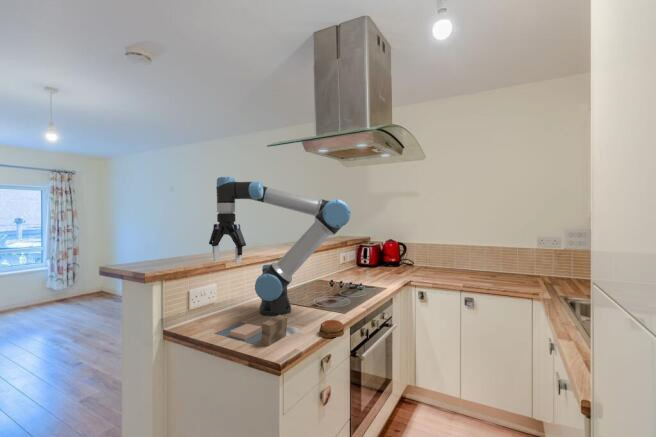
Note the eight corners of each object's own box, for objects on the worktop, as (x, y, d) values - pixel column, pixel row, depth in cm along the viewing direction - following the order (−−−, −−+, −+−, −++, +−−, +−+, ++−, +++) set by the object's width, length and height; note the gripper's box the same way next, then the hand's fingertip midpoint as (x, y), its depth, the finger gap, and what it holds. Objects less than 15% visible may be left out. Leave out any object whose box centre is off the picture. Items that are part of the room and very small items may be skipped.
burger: (348, 335, 120) (348, 323, 120) (328, 341, 115) (328, 328, 115) (334, 327, 128) (334, 316, 128) (315, 332, 123) (315, 321, 123)
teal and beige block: (247, 323, 126) (229, 331, 118) (261, 326, 122) (245, 334, 114) (247, 328, 126) (230, 336, 118) (261, 332, 122) (245, 340, 114)
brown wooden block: (271, 348, 109) (272, 326, 108) (258, 343, 112) (259, 322, 111) (300, 330, 124) (301, 311, 124) (288, 326, 127) (289, 307, 127)
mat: (280, 332, 123) (280, 331, 123) (255, 346, 110) (255, 344, 110) (240, 323, 134) (240, 322, 134) (214, 334, 122) (214, 333, 122)
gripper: (253, 212, 131) (254, 262, 131) (213, 213, 143) (214, 258, 144) (240, 212, 124) (241, 265, 125) (199, 213, 137) (201, 261, 137)
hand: (227, 261), depth 134 cm, fingers open, 13 cm apart
